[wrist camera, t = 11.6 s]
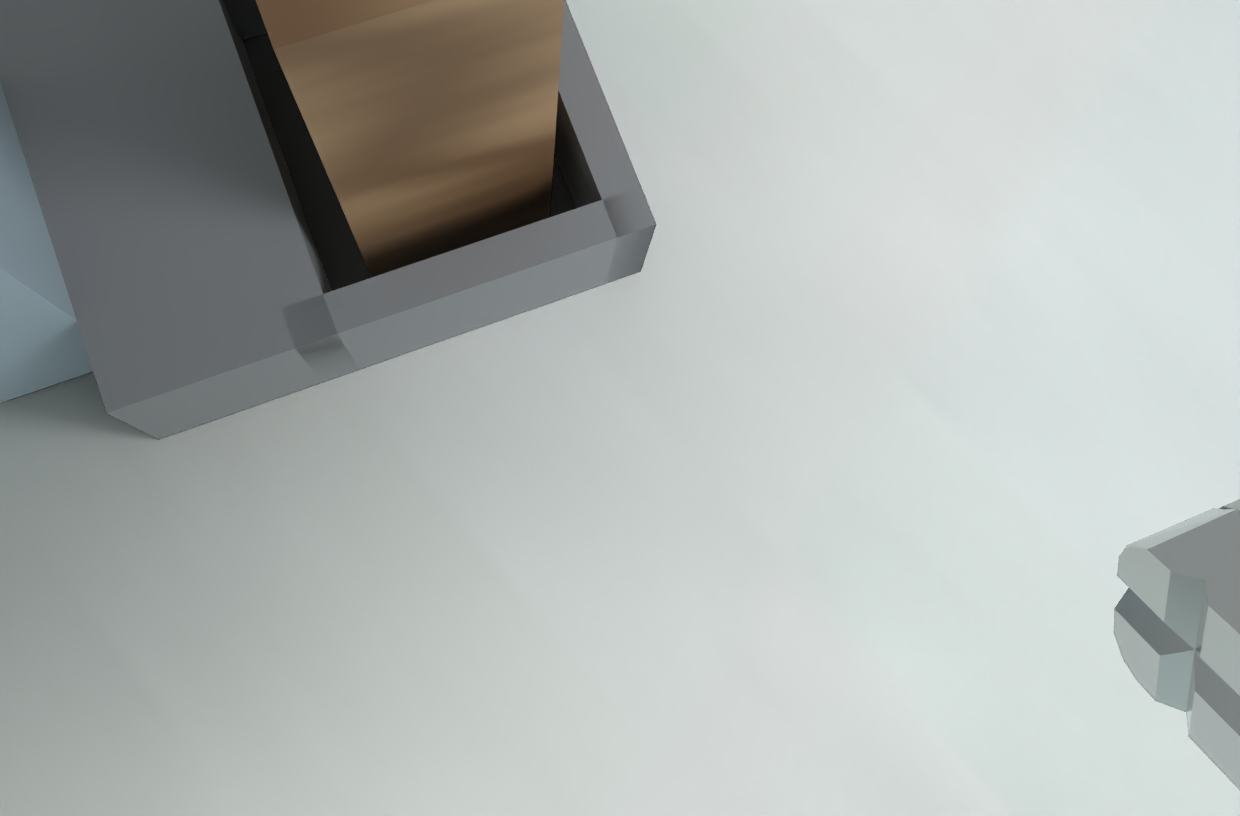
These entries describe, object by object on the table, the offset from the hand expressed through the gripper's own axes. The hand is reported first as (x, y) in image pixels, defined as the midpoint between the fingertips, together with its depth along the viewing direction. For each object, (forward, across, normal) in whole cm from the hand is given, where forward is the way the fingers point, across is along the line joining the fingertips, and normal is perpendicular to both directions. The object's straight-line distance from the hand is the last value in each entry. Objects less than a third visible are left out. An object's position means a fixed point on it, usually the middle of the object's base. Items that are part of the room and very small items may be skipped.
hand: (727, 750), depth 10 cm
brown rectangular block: (+18, 0, +1) cm, 18 cm away
